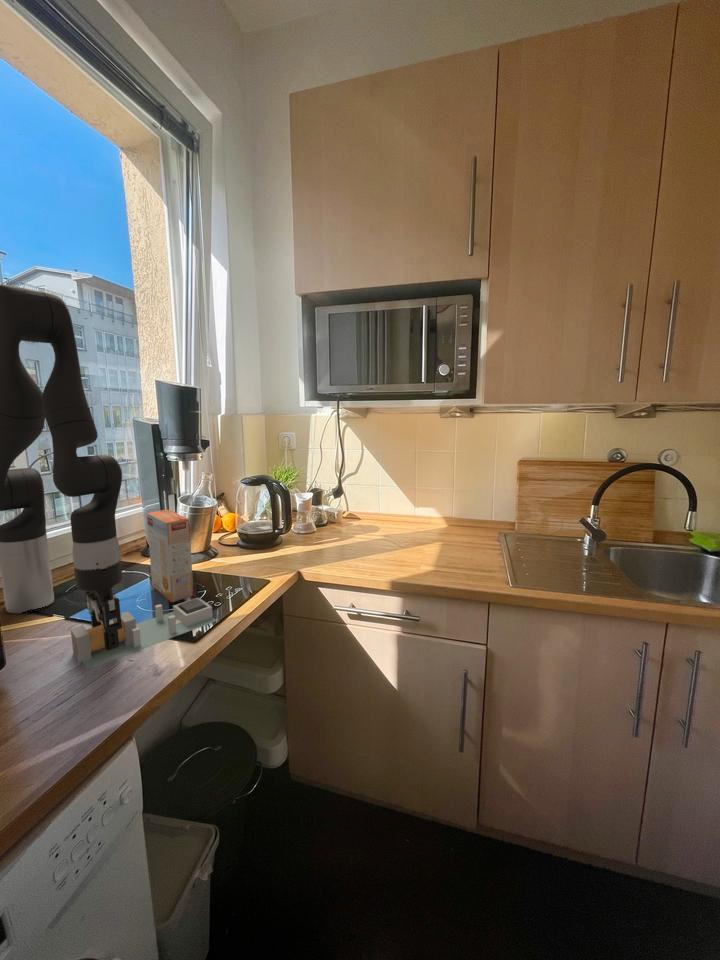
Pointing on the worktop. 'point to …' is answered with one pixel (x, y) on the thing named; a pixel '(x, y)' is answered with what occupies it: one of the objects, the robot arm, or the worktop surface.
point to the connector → (192, 606)
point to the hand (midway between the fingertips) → (105, 639)
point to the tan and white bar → (99, 637)
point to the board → (155, 632)
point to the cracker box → (170, 554)
